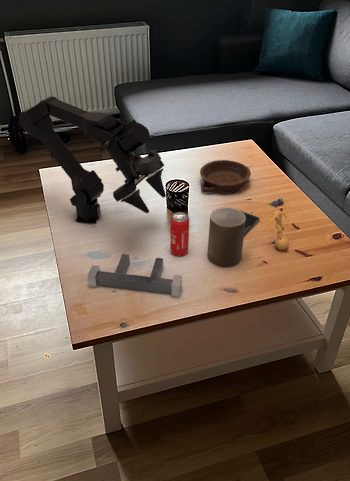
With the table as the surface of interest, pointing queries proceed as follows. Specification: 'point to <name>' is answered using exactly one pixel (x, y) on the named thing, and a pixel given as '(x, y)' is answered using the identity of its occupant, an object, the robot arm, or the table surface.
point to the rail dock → (135, 279)
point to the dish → (224, 176)
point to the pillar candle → (226, 236)
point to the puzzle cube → (277, 203)
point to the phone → (250, 222)
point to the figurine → (279, 231)
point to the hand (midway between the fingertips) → (156, 204)
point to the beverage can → (179, 233)
